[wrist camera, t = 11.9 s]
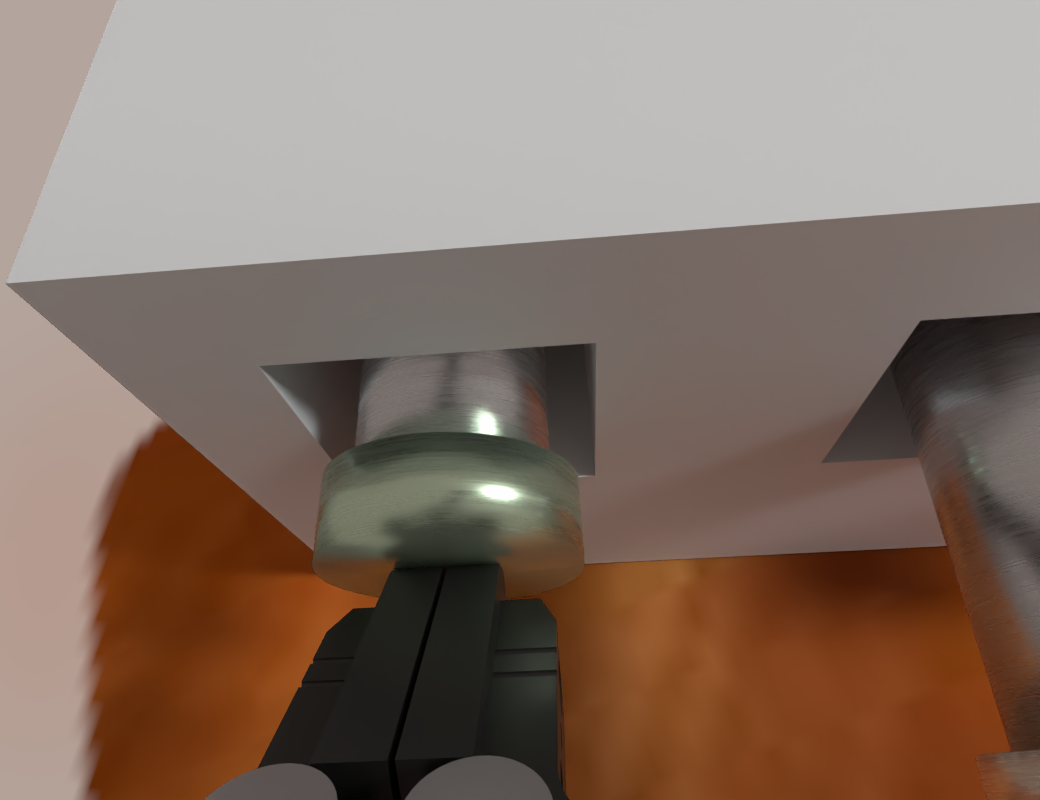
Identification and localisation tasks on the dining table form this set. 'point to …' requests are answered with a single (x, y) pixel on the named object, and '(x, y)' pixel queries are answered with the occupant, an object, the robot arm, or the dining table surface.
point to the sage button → (451, 476)
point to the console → (556, 237)
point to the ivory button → (987, 505)
